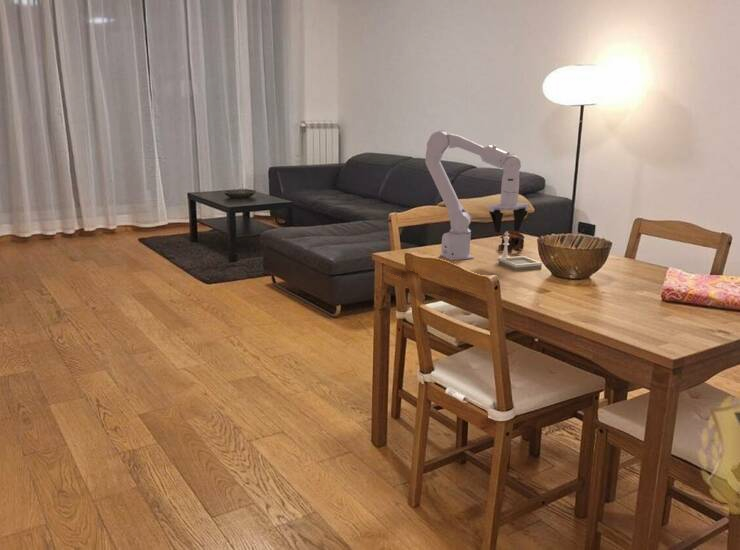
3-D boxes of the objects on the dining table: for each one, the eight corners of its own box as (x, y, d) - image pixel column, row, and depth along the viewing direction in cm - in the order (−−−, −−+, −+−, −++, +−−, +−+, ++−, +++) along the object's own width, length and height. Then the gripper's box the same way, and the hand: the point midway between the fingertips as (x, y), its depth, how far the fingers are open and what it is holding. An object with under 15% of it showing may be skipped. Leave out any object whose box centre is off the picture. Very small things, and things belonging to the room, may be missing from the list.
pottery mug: (491, 250, 242) (497, 230, 243) (510, 260, 246) (517, 239, 247) (511, 249, 231) (517, 227, 232) (531, 259, 235) (537, 237, 236)
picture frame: (515, 271, 212) (515, 265, 211) (498, 263, 220) (499, 258, 220) (541, 268, 215) (541, 262, 215) (523, 261, 224) (524, 255, 224)
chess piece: (507, 262, 223) (509, 233, 220) (494, 260, 226) (496, 231, 223) (514, 260, 226) (517, 231, 223) (502, 257, 229) (504, 229, 227)
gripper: (497, 194, 213) (495, 234, 217) (535, 192, 219) (531, 232, 222) (486, 191, 220) (483, 230, 223) (522, 189, 225) (519, 228, 229)
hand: (507, 231), depth 223 cm, fingers open, 7 cm apart
